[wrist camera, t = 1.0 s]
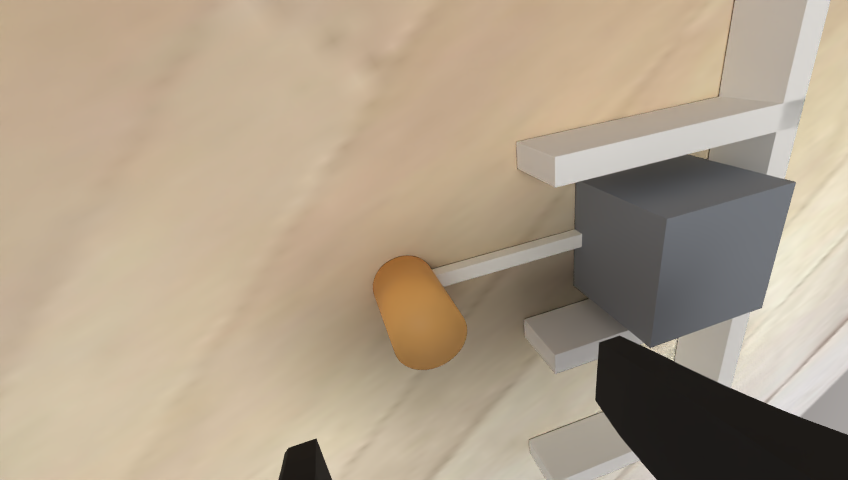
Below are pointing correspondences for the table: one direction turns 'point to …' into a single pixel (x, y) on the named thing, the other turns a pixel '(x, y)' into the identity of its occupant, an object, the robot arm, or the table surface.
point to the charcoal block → (620, 257)
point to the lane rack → (660, 140)
